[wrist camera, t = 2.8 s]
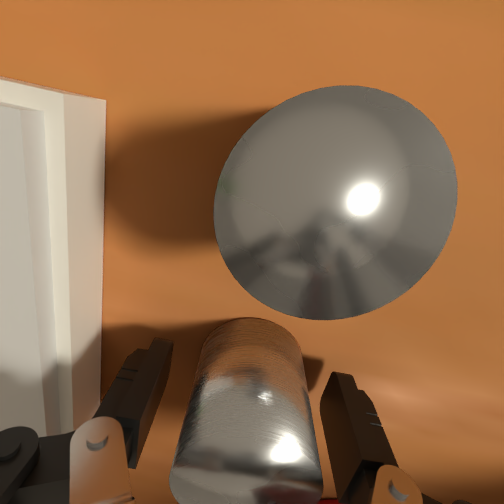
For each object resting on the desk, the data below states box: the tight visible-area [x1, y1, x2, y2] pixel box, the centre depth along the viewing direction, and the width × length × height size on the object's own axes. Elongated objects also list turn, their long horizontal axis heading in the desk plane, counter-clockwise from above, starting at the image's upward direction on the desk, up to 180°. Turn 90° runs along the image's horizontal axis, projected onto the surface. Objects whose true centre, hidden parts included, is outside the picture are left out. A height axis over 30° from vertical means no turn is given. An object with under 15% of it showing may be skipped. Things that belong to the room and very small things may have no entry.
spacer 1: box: [169, 318, 323, 504], centre depth 11 cm, size 4×4×5 cm
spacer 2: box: [213, 86, 457, 320], centre depth 8 cm, size 4×4×5 cm
